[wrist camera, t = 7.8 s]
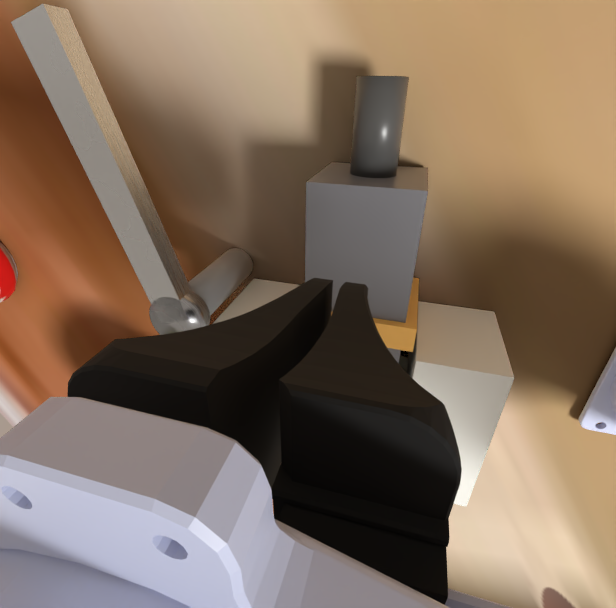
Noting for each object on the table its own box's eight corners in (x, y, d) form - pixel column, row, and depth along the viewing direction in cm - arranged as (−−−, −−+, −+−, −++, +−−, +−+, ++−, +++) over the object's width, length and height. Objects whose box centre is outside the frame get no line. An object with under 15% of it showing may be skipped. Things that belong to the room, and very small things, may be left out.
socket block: (503, 280, 19) (529, 342, 15) (458, 428, 25) (466, 508, 20) (221, 246, 23) (167, 287, 18) (235, 382, 28) (197, 441, 24)
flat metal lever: (27, 31, 14) (1, 27, 13) (77, 3, 13) (53, -3, 12) (175, 335, 19) (164, 346, 18) (218, 331, 18) (208, 343, 18)
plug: (454, 78, 16) (465, 74, 11) (404, 356, 23) (400, 418, 19) (324, 77, 17) (289, 73, 13) (316, 341, 24) (292, 395, 20)
